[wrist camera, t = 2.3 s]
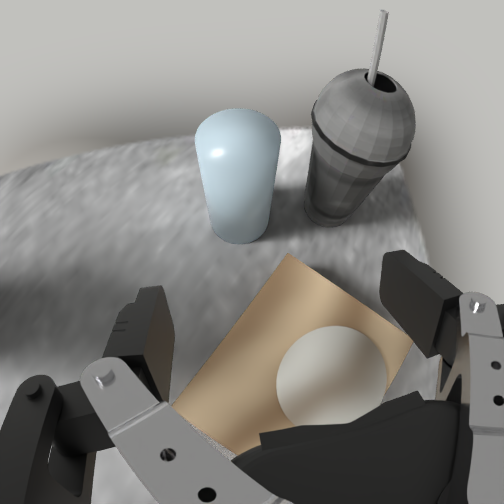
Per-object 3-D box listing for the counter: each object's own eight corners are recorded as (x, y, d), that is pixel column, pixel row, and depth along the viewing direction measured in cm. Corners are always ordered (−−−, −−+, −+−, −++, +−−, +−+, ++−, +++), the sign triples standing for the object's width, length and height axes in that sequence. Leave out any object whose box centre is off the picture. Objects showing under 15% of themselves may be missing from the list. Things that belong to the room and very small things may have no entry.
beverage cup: (331, 256, 28) (444, 77, 9) (274, 204, 29) (306, 1, 11) (374, 209, 30) (476, 48, 11) (321, 164, 31) (375, -11, 13)
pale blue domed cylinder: (198, 222, 29) (177, 144, 18) (234, 183, 30) (230, 98, 20) (245, 255, 27) (246, 185, 17) (280, 212, 29) (296, 131, 19)
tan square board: (181, 401, 23) (169, 407, 18) (281, 270, 27) (288, 251, 23) (301, 478, 20) (312, 497, 16) (391, 345, 25) (416, 339, 20)
